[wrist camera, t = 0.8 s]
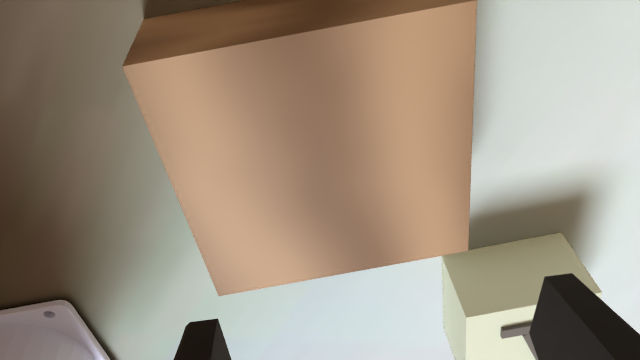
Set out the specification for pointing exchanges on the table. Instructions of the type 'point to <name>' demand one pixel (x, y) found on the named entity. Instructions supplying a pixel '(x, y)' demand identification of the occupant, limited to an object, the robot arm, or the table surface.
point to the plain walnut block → (313, 132)
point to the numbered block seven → (502, 295)
